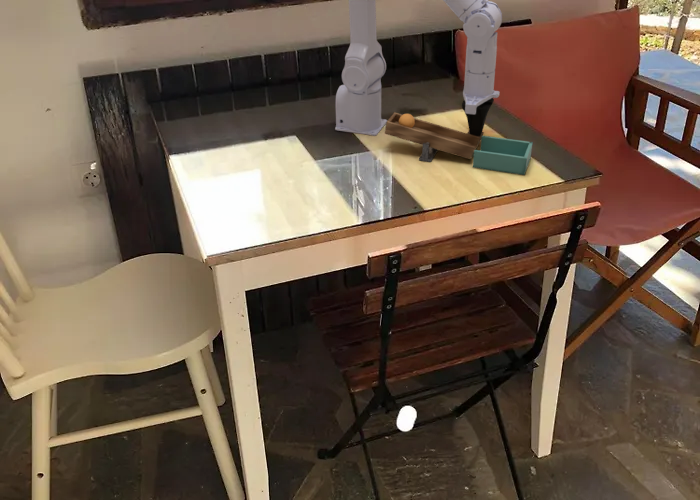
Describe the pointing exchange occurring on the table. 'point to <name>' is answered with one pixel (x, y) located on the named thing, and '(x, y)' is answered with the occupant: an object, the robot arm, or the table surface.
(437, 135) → the lever
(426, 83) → the table surface
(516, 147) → the teal open-ended tray
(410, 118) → the ball
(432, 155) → the fulcrum
